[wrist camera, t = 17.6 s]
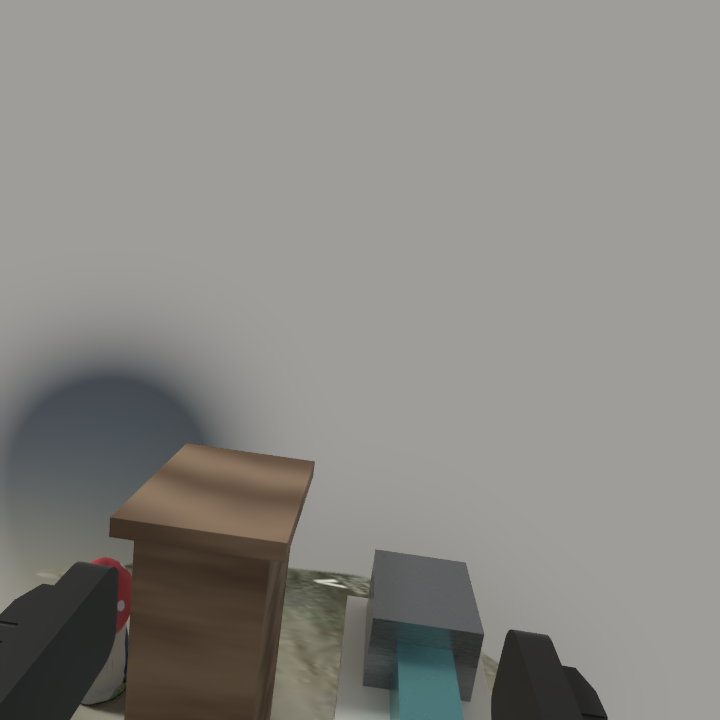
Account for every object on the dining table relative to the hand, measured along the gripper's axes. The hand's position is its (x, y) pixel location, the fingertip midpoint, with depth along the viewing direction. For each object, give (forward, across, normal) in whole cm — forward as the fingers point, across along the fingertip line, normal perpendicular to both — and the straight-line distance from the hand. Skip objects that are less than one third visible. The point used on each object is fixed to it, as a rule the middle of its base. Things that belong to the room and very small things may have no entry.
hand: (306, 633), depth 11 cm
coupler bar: (+18, -7, +20) cm, 28 cm away
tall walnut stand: (+22, +7, +42) cm, 48 cm away
